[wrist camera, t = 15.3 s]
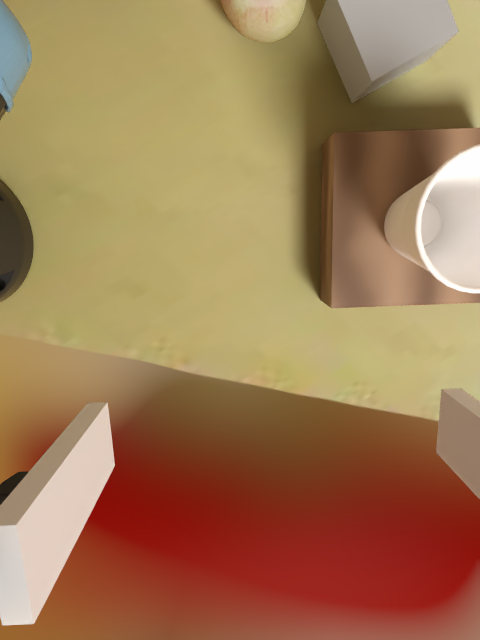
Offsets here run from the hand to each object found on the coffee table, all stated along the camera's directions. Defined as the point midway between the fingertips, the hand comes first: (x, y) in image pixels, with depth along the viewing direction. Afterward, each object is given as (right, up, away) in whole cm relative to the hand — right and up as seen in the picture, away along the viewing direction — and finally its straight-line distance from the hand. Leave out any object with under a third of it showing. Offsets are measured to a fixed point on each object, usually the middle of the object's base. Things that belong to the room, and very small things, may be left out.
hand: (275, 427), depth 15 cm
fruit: (+1, +34, +22) cm, 40 cm away
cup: (+15, +13, +22) cm, 30 cm away
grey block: (+11, +31, +23) cm, 40 cm away
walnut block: (+15, +15, +26) cm, 34 cm away
